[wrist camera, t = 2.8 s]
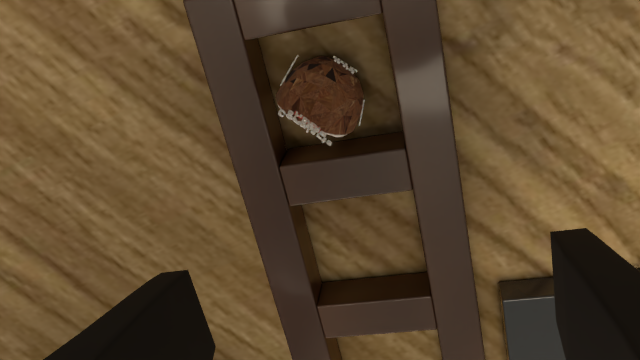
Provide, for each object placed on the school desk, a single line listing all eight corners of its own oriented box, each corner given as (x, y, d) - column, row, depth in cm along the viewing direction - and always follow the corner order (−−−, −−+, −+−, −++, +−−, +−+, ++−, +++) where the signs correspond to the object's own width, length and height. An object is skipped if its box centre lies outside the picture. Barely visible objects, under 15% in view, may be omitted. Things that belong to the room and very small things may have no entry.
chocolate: (386, 79, 20) (381, 121, 17) (350, 129, 21) (337, 178, 18) (313, 29, 20) (292, 61, 16) (279, 82, 21) (252, 123, 17)
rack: (323, 418, 28) (318, 447, 27) (197, -9, 20) (181, 0, 19) (491, 410, 26) (495, 440, 25) (427, -60, 18) (429, -55, 17)
